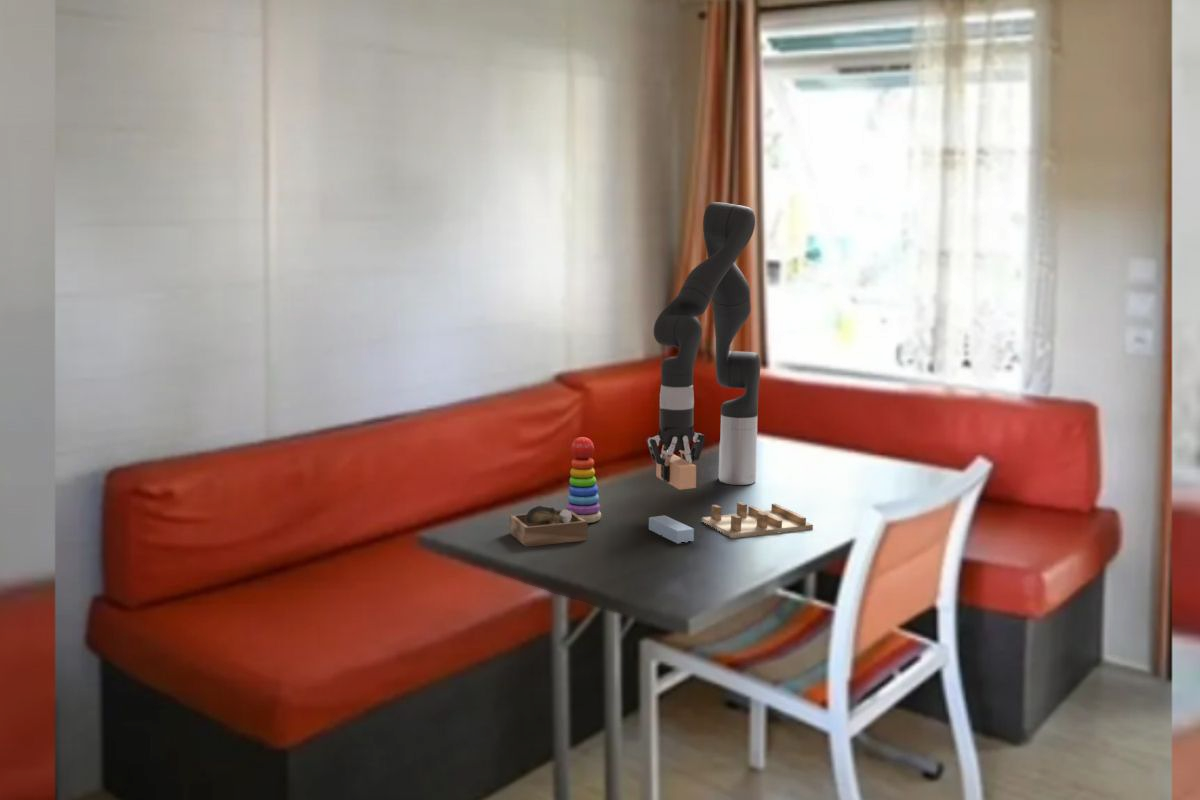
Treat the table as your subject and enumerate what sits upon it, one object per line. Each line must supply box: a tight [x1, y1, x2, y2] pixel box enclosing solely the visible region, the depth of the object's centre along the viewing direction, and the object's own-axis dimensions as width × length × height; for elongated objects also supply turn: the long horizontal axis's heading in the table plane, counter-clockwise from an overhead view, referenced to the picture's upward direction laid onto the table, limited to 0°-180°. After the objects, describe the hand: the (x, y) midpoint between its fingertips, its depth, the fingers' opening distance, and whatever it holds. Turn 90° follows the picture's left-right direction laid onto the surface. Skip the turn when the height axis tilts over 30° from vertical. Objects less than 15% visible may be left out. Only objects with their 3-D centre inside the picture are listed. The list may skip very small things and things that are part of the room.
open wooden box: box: [509, 509, 588, 548], centre depth 254 cm, size 11×14×4 cm
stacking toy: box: [566, 436, 602, 524], centre depth 266 cm, size 8×8×19 cm
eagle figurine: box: [525, 505, 572, 525], centre depth 253 cm, size 8×7×9 cm
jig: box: [701, 501, 814, 539], centre depth 264 cm, size 14×20×4 cm
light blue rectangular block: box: [648, 515, 695, 545], centre depth 256 cm, size 12×4×3 cm, turn 28°
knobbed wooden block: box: [655, 453, 697, 490], centre depth 266 cm, size 12×4×6 cm, turn 22°
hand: (675, 480), depth 266 cm, fingers closed on knobbed wooden block, 4 cm apart
